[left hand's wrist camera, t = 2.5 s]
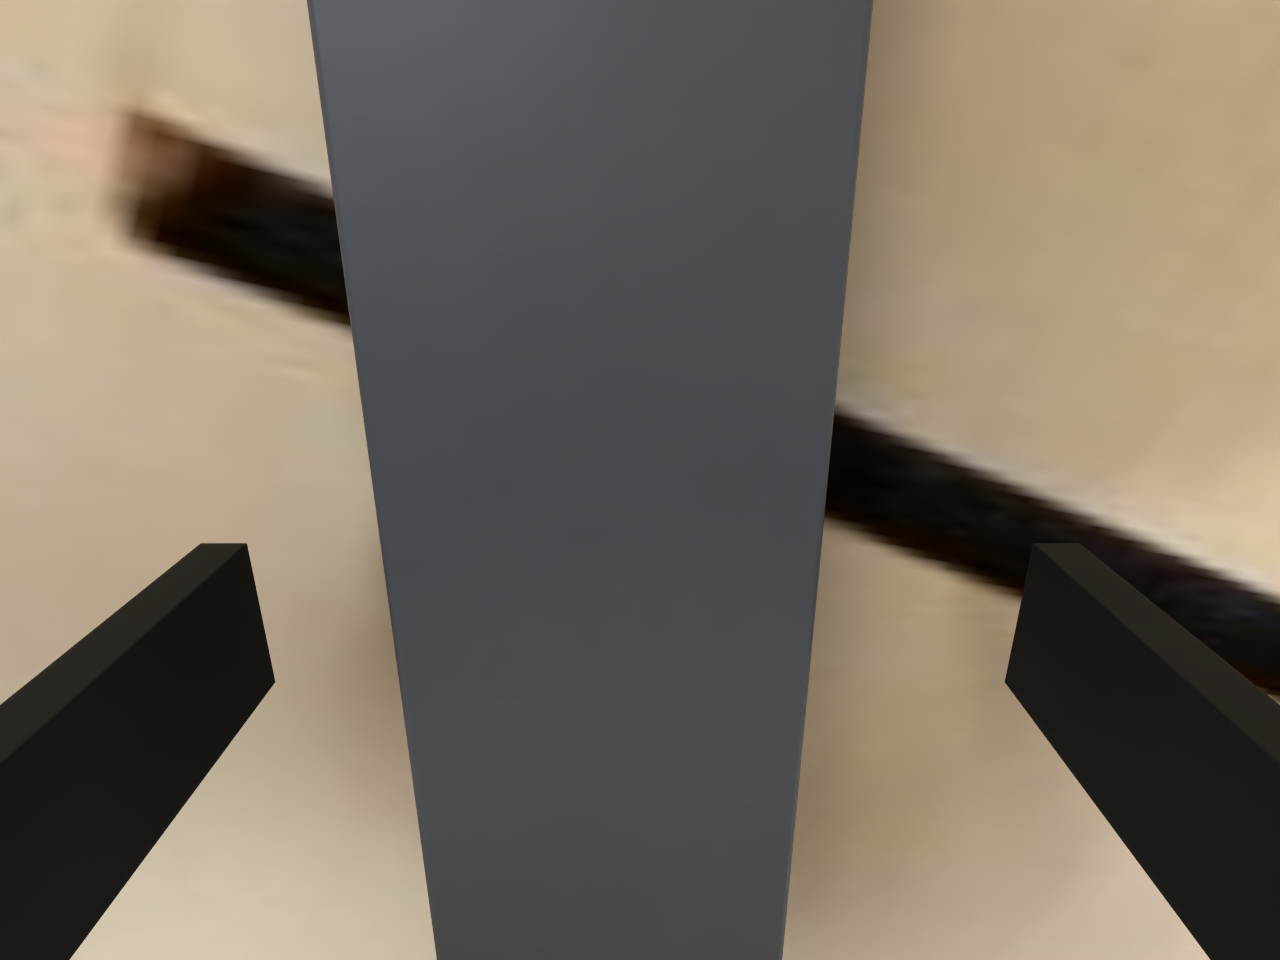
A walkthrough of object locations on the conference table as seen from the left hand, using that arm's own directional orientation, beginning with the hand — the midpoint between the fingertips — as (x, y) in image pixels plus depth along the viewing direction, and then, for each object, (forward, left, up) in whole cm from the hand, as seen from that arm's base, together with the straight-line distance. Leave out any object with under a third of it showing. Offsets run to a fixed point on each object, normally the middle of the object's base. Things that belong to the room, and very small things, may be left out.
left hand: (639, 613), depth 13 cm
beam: (+17, +31, -5) cm, 36 cm away
